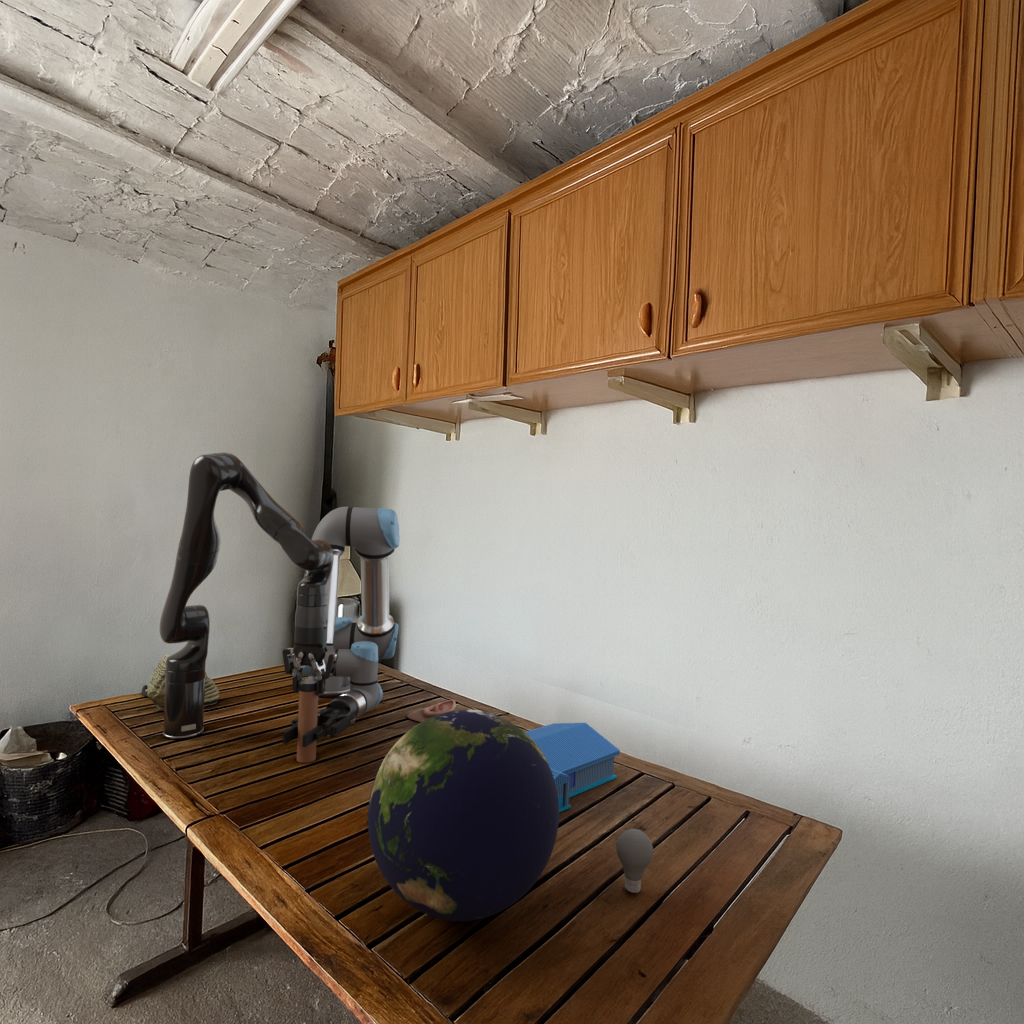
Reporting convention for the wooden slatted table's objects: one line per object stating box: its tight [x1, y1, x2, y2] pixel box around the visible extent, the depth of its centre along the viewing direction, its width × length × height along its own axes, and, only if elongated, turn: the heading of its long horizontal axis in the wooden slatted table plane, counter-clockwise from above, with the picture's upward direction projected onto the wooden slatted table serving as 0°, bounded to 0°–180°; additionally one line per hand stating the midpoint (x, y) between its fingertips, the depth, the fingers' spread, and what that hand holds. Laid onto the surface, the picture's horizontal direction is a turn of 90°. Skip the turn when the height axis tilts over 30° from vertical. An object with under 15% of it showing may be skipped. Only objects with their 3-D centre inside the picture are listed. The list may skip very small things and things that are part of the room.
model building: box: [524, 722, 621, 813], centre depth 143 cm, size 39×24×10 cm, turn 132°
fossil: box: [147, 654, 221, 712], centre depth 185 cm, size 9×18×15 cm, turn 132°
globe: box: [367, 709, 560, 922], centre depth 100 cm, size 30×30×30 cm
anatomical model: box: [406, 699, 457, 723], centre depth 185 cm, size 13×4×12 cm
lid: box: [298, 677, 318, 691], centre depth 152 cm, size 5×5×2 cm
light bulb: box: [615, 828, 654, 894], centre depth 106 cm, size 6×6×10 cm
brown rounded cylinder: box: [296, 690, 319, 764], centre depth 152 cm, size 4×4×18 cm
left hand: (308, 693), depth 152 cm, fingers open, 5 cm apart
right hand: (294, 739), depth 147 cm, fingers closed on brown rounded cylinder, 4 cm apart
